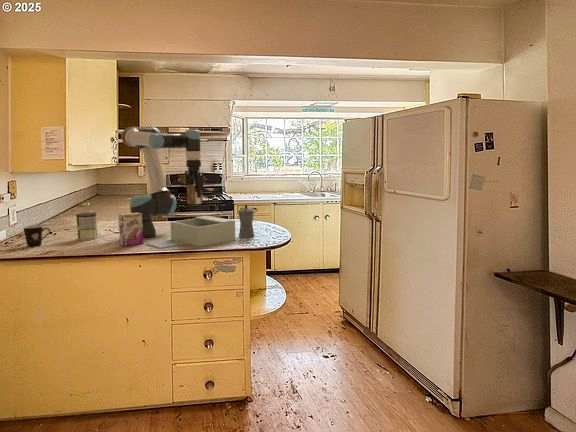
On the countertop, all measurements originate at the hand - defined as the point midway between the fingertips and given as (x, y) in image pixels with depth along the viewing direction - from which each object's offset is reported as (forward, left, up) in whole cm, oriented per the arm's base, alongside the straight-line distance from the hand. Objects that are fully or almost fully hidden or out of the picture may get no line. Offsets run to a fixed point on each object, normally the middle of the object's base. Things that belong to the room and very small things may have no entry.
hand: (194, 203), depth 258 cm
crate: (0, +4, -21) cm, 21 cm away
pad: (-4, -17, -21) cm, 27 cm away
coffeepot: (+9, +27, -21) cm, 36 cm away
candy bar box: (-17, -29, -21) cm, 39 cm away
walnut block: (0, 0, 0) cm, 0 cm away
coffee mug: (-51, -64, -21) cm, 84 cm away
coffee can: (-50, -38, -21) cm, 66 cm away
